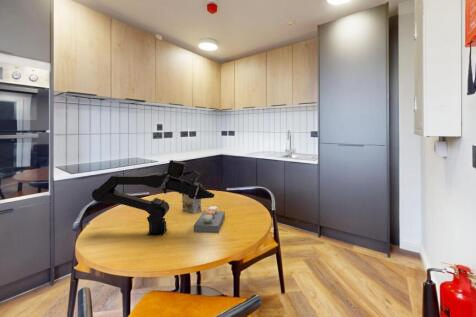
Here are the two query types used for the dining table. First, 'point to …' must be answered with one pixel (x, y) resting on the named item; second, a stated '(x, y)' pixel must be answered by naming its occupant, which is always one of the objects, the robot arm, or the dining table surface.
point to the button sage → (207, 218)
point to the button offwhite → (213, 208)
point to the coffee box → (191, 204)
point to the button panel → (210, 223)
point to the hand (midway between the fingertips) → (214, 196)
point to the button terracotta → (210, 212)
